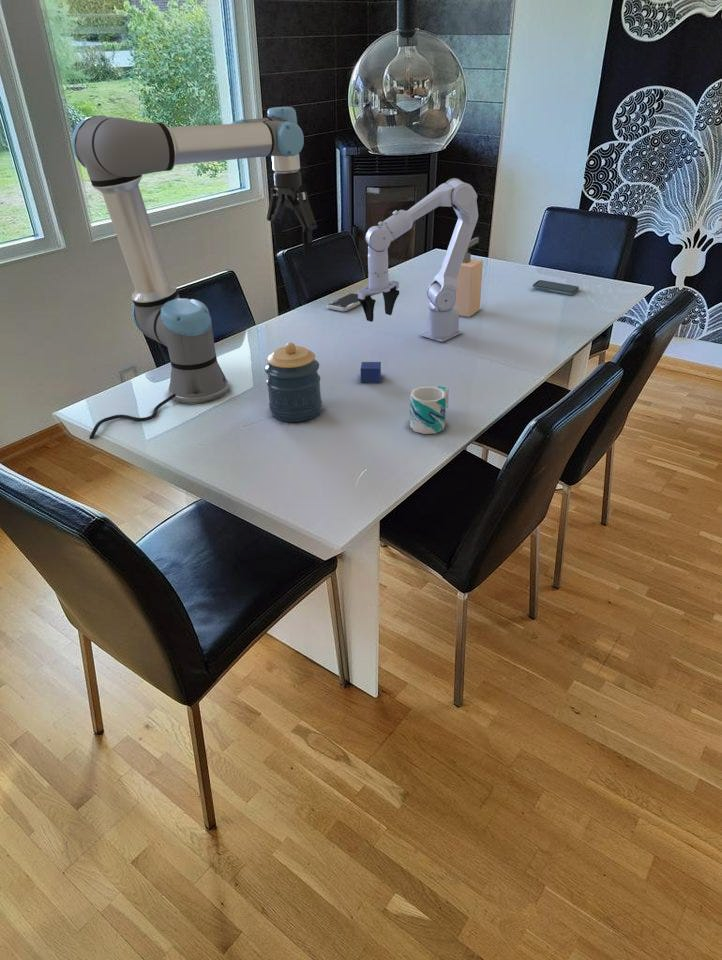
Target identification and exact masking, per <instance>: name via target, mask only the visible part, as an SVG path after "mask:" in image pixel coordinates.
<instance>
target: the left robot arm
mask: <svg viewBox="0 0 722 960" xmlns="http://www.w3.org/2000/svg"><path fill="white" fill-rule="evenodd" d="M296 111H297V110H296V109H295V108H294V107H292V106H278V107H277V106H276V107H270V108H268V109H267V116H266V117H260V118H247V119H246V118H245V119H243V118H241V119H239V120H233V121H232V122H231V123H224V124H205V125H204V124H203V125H187V126H186V125H185V126H183V125H182V126H168V125H167V123H165V122H161V121H160V122H148V121H147V122H146V121H138V120H134V119H128V118H125V117H112V116H106V115H102V114H100V115H91V116H88V117H86V118H84V119H82V120H80V121H79V122H78V123H77V124H76V126H75V127H74V130H73V131H72V135H71V147H72V151H73V155H74V156H75V158H76V160H77V162H78V163H80V165H81V166H82V167H84V169H86V172H87V174H88V177H89V181H90V183H91V186H92V188H94V189H95V190H97V191H98V192H100V194H102V197H103V200H104V203H105V206H106V209H107V211H108V215H109V218H110V221H111V224H112V226H113V229H114V233H115V236H116V238H117V241H118V243H119V246H120V249H121V253H122V256H123V258H124V261H125V264H126V266H127V269H128V272H129V275H130V278H131V281H132V285H133V287H134V291H133V293H132V295H131V299H132V303H133V306H132V310H131V312H132V314H131V315H132V320H133V322H134V324H135V326H136V327H137V329H138V330H139V331H140V332H141V333H142V334H143V335H145V336H146V337H147V338H148V339H150V340H153V341H155V342H157V343H159V344H162V345H163V346H165V347H167V352H168V356H169V361H170V367H171V369H170V370H171V371H170V377H169V386H168V393H169V396H168V397H166V398H165V399H164V400H162V401H161V402H159V403H158V404H156V406H155V407H154V408H153V411H152V414H151V415H148V416H145V417H136V416H132V415H129V414H128V415H127V414H114V415H111V416H107V417H104V418H102V419H100V420H98V422H97V423H96V424H95V425H94V427H93V429H92V431H91V433H90V435H89V438H88V439H89V440H93V439H94V438H95V435H96V433H97V431H98V429H99V427H100V426H101V425H102V424H104V423H106V422H109V421H112V420H117V419H127V420H131V421H136V422H146V421H150V420H153V419H154V418H156V416H157V412H158V410H159V409H160V408H161V407H162V406H164V405H165V404H167V403H169V402H170V401H172V400H173V401H175V402H177V403H180V404H188V405H189V404H190V405H196V404H197V405H198V404H204V403H208V402H212V401H214V400H217V399H219V398H221V397H223V396H224V395H225V394H227V392H228V391H229V383H228V379H227V378H226V375H225V374H224V372H223V370H222V368H221V366H220V363H219V362H218V358H217V352H216V346H215V338H214V332H213V326H212V316H211V315H210V310H209V309H208V306H207V305H206V304H205V303H204V302H202V301H200V300H198V299H194V298H191V299H189V298H185V297H183V298H180V295H179V291H178V288H177V286H176V284H174V283H172V282H170V281H169V279H168V276H167V273H166V270H165V267H164V263H163V259H162V257H161V253H160V251H159V250H160V249H159V247H158V244H157V240H156V237H155V234H154V231H153V227H152V224H151V221H150V218H149V214H148V211H147V208H146V205H145V202H144V198H143V195H142V192H141V189H140V186H139V184H140V182H141V180H142V179H143V175H149V174H155V173H161V172H170V171H172V170H173V169H175V166H180V165H189V164H190V165H191V164H200V163H210V162H211V163H212V162H221V161H233V160H244V159H253V158H264V157H266V158H267V157H271V162H272V165H271V166H272V170H273V171H274V172H273V183H274V187H272V188H270V198H269V203H268V208H267V214H266V220H267V221H268V222H270V224H271V225H272V234H273V238H274V239H273V241H274V248H277V249H278V248H282V247H284V246H285V245H284V233H283V223H282V217H283V215H284V213H285V211H286V208H288V209H290V210H291V211H293V213H294V214H295V217H296V218H297V220H298V222H299V224H300V226H301V227H302V230H301V236H302V237H301V239H302V247H303V248H302V250H303V251H302V252H303V256H309V255H313V254H314V252H313V242H314V241H313V231H314V230H315V229H318V225H317V222H316V219H315V216H314V213H313V210H312V207H311V205H310V201H309V195H308V192H307V191H303V192H301V191H300V187H301V186H302V185H303V183H302V173H301V171H300V169H301V162H300V153H301V151H302V150H303V148H304V145H305V144H304V143H305V142H304V141H305V138H304V136H305V135H304V133H303V130H302V128H301V127H300V126H299V124H298V117H297V112H296Z"/></svg>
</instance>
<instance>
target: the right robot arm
mask: <svg viewBox="0 0 722 960" xmlns="http://www.w3.org/2000/svg"><path fill="white" fill-rule="evenodd" d="M477 199H478V194H477V192H476V190H475V189H474V187H473V186H472V185H471V184H470V183H467V182H464V181H462V180H461V179H460V178H458V177H457V178H456V177H453V178H450V179H448V180H447V181H446V182H443V183H441V184H440V185H438V187H437V186H436V188H435V189H434V190H433V191H431V192H430V193H429V194H427V195H426V196H425V197H422V199H421V200H419V201H418V202H416V203H415V204H414V205H413V206H411V207H410V208H409V209H407V210H405V209H400V210H396V209H395V210H394V211H393V212H392V215H390V216H389V217H387V218H386V219H385V220H383V221H381V220H380V221H379V222H378V223H377V224H378V225H373V226H371V227H369V228H368V229H367V232H366V233H365V236H364V240H365V242H366V244H367V245H368V246H367V269H368V270H367V272H368V275H367V276H368V286H366V287H364V288H363V289H361V290H359V291H357V294H358V300H359V302H360V303H361V304H360V305H361V307H362V309H363V312H364V315H365V319H366V321H368V322H374V311H375V305H376V301H377V300H376V299H374V298H373V296H375V295H379V294H382V296H383V302H384V303H383V304H384V313H385V315H387V316H392V315H393V311H394V307H395V304H396V300H397V298H398V297H399V295H400V290H398V289H399V288H400V281H398V280H391V281H389V253H388V251H389V250H388V249H389V247H390V245H391V242H394V241H395V240H396V239H398V238H399V237H401V236H402V235H403V234H405V233H407V232H408V231H410V230H411V229H412V227H413V224H414V222H416V221H417V220H419V219H420V218H422V217H423V216H425V215H427V214H428V213H430V212H432V211H433V210H435V209H437V208H438V207H448V208H453V210H454V212H455V214H456V216H457V221H456V222H455V223H456V224H455V226H454V229H453V232H452V235H451V238H450V241H449V244H448V246H447V249H446V252H445V255H444V258H443V261H442V263H441V267H440V270H439V271H438V273H437V274H436V275H435V276H434V278H433V280H432V282H431V283H430V284H429V286H428V287H427V289H426V296H427V299H428V300H429V304H428V318H427V319H428V321H427V322H428V323H427V327H428V328H427V332H424V333H423V334H421V337H422V338H427V339H429V340H432V341H436V342H439V343H443V342H446V341H449V340H450V339H452V338H455V337H457V336H459V335H460V334H461V333H462V332H461V331H459V329H460V327H459V326H460V315H459V310H458V308H457V307H456V306H455V305H454V304H455V301H456V290H457V281H456V278H457V276H458V273H459V270H460V267H461V264H462V262H463V259H464V256H465V253H466V251H467V248H468V245H469V242H470V240H472V237H473V234H474V231H475V228H476V225H477V223H478V220H479V209H478V203H477V202H478V201H477ZM468 249H469V248H468Z"/></svg>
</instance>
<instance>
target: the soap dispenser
mask: <svg viewBox="0 0 722 960" xmlns="http://www.w3.org/2000/svg"><path fill="white" fill-rule="evenodd" d="M478 243H480V237H478V236H476V237H474V238H471V239H470V242H469V245H468V248H467V251H466V253H465V256H464V259H463V262H462V264H461V267H460V270H459V273H458V276H457V278H456V281H457V290H456V301H455V304H454V305H455V306H456V307H457V308H458V310H459V317H466V318H469V317H471V316H472V315H474V314H476V313H477V312H478V311H480V309H481V298H482V296H481V294H482V282H483V264H484V261H483V259H476V258H472V253H471V252H469V249H470V248H471V247H473V246H475V245H476V244H478Z"/></svg>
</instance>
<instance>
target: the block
mask: <svg viewBox="0 0 722 960" xmlns="http://www.w3.org/2000/svg"><path fill="white" fill-rule="evenodd" d="M360 364H361V365H360V383H361V384H362V383H363V384H365V383H368V384H369V383H372V384H373V383H376V384H378V383H379V384H380V383H381V380H382V362H381V361H362V362H361V363H360Z"/></svg>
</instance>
